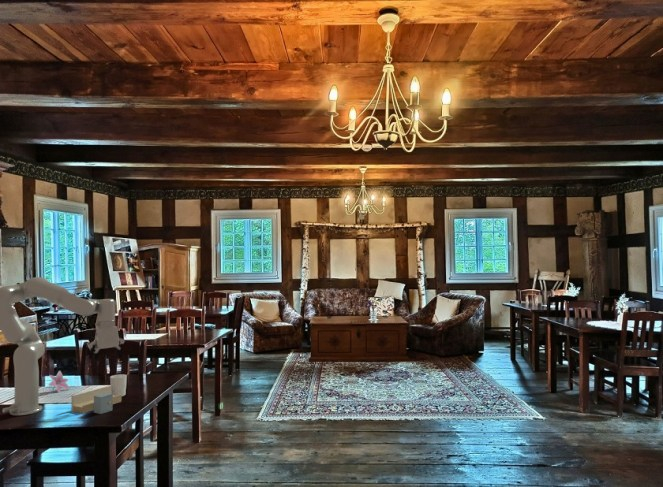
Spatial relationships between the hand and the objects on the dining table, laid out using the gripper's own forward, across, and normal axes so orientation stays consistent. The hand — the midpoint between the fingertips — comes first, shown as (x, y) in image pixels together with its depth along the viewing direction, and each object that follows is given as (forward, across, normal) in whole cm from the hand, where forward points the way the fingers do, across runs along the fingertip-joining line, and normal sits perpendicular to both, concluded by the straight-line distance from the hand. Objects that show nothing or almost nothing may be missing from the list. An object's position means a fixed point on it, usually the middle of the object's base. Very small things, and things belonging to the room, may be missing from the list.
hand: (106, 359), depth 229 cm
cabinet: (+22, -6, -10) cm, 25 cm away
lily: (+22, -7, +47) cm, 53 cm away
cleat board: (+22, -4, +1) cm, 22 cm away
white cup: (+22, +10, +12) cm, 27 cm away
